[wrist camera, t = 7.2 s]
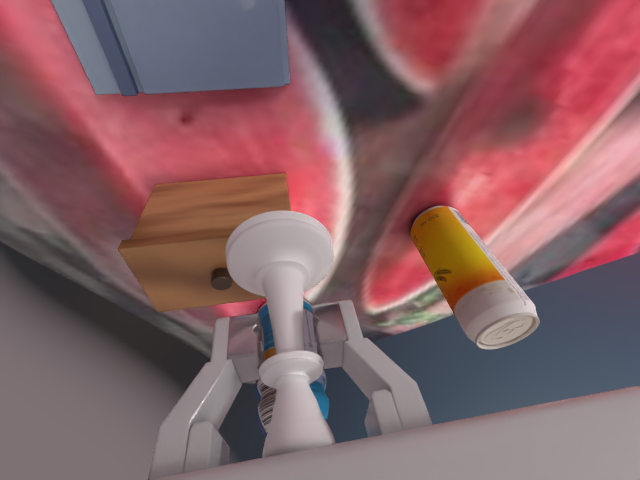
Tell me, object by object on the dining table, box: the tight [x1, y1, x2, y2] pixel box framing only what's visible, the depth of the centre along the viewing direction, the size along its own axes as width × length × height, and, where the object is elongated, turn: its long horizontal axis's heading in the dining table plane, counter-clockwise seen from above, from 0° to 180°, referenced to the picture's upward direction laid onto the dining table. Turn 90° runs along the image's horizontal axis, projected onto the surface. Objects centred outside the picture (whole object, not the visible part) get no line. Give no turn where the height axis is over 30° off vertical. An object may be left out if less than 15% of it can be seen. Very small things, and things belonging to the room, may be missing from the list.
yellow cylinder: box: [411, 206, 539, 349], centre depth 31 cm, size 6×6×15 cm
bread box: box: [118, 173, 291, 312], centre depth 27 cm, size 8×13×10 cm, turn 90°
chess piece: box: [225, 211, 336, 458], centre depth 10 cm, size 5×5×10 cm
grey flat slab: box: [51, 0, 290, 96], centre depth 20 cm, size 8×14×1 cm, turn 90°
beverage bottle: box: [255, 299, 329, 437], centre depth 37 cm, size 8×8×20 cm
